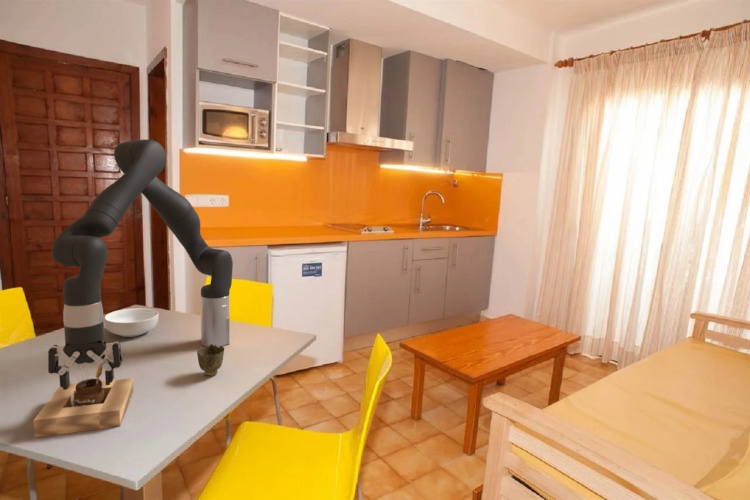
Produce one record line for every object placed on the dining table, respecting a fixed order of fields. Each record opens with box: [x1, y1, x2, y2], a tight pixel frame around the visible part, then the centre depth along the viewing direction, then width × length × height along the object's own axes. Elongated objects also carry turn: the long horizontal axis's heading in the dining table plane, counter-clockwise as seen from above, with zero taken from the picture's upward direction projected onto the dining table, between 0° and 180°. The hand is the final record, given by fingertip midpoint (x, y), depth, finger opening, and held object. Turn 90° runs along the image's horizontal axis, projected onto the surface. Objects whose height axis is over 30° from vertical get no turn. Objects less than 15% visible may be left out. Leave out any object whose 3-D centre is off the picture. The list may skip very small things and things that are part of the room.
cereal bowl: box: [104, 307, 160, 338], centre depth 149 cm, size 17×17×7 cm
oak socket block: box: [33, 377, 134, 438], centre depth 99 cm, size 16×16×4 cm
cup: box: [196, 344, 225, 377], centre depth 122 cm, size 8×7×8 cm
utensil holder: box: [74, 365, 105, 407], centre depth 99 cm, size 6×6×12 cm
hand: (87, 385), depth 99 cm, fingers open, 8 cm apart
